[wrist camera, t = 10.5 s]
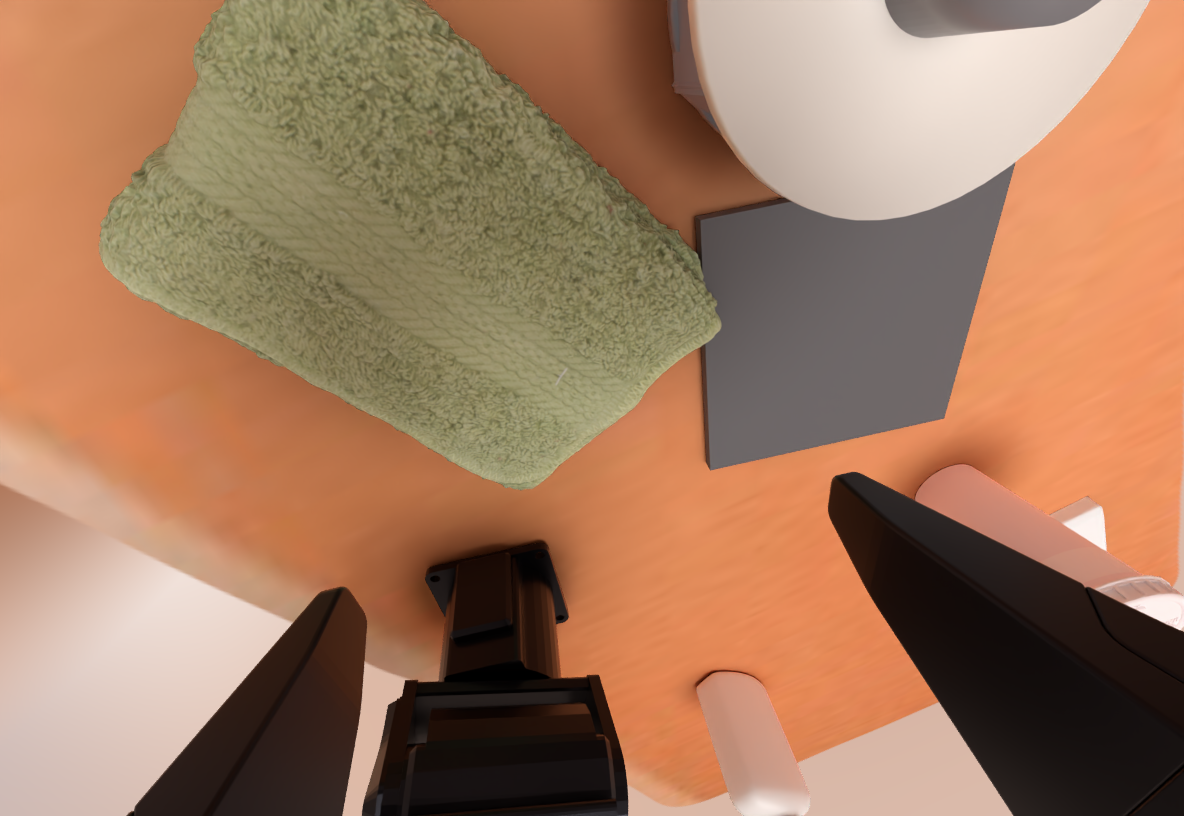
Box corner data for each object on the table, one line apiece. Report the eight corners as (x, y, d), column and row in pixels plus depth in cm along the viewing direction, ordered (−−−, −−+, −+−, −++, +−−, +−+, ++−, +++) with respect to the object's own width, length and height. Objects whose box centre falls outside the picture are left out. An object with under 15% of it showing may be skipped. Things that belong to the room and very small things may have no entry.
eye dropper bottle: (714, 710, 39) (786, 923, 30) (689, 679, 36) (758, 905, 26) (767, 689, 39) (857, 899, 29) (745, 656, 36) (838, 878, 26)
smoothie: (924, 543, 32) (1168, 812, 20) (871, 502, 29) (1119, 787, 17) (1019, 476, 30) (1354, 734, 18) (971, 425, 27) (1332, 691, 15)
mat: (935, 411, 26) (943, 418, 25) (706, 462, 25) (710, 470, 25) (1004, 153, 19) (1017, 154, 19) (695, 216, 19) (700, 220, 18)
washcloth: (529, 482, 25) (532, 530, 22) (116, 249, 17) (44, 280, 14) (729, 283, 21) (762, 312, 18) (308, -149, 13) (257, -208, 10)
